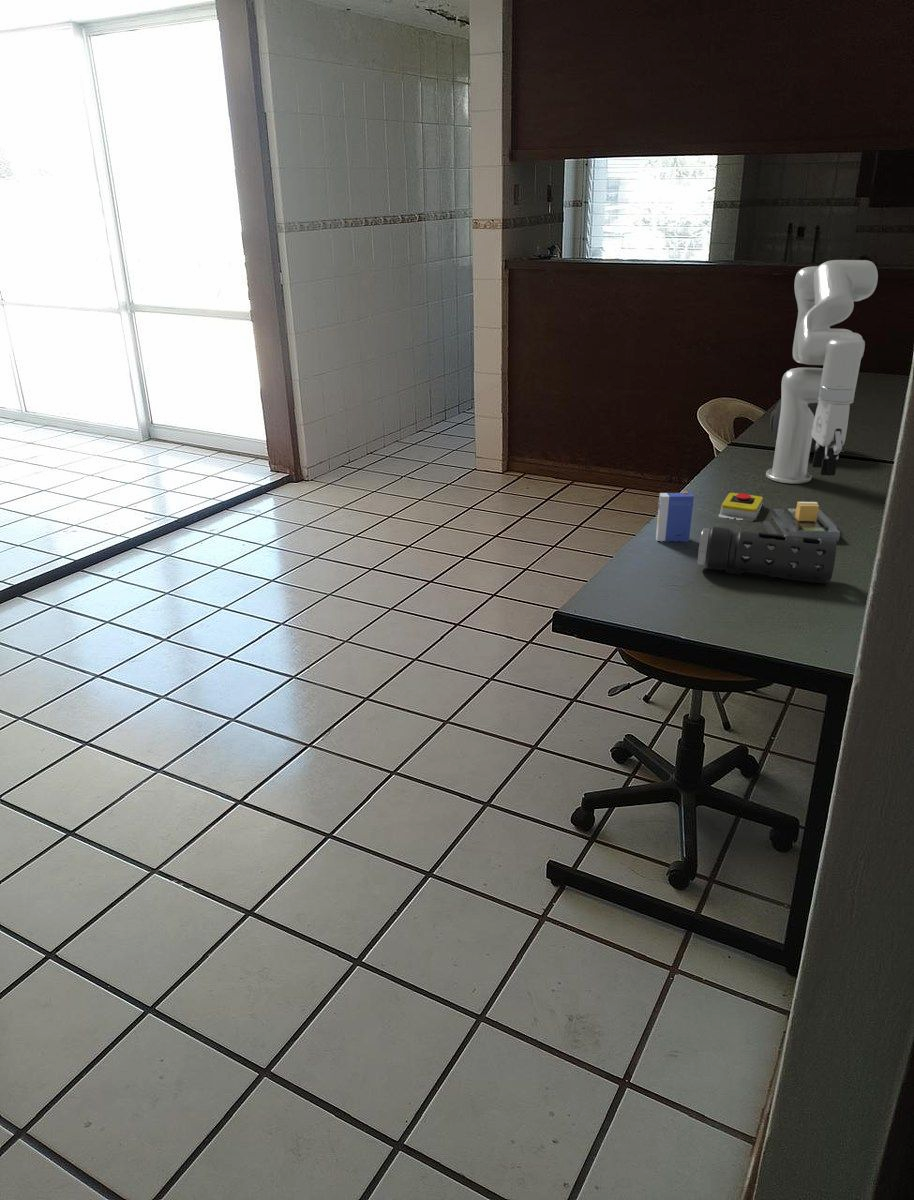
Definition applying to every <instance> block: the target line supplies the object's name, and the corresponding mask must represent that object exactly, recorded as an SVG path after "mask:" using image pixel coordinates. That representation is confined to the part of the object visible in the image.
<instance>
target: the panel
mask: <svg viewBox="0 0 914 1200" xmlns="http://www.w3.org/2000/svg"><path fill="white" fill-rule="evenodd" d="M771 511H772V512H771V517H772V518H773V519H774V521H775V522H776V524H777V525H778V526H779V528H780V529H781V530H780V529H779V528H778V529H779V530H780V532H781V531H782V532H783V533H782V532H781V533H782V535H783V534H784V535H789V536H798V537H808V538H817V539H827V540H835V541H836V543H837V542H839V541H840V536H841V530H839V529H837V528H836V527H835V525H834V524H833V523H832V522H831V521H830V520H829V519H828V518H827V517H826V516H827V515H826V514H825V513H824V512H823V511H822V510H821V509H820V508H819V509H818V515H817V521H798V520H797V519H796V517H795V513H796V508H772V510H771ZM772 518H771V519H772ZM774 521H773V522H774ZM775 522H774V523H775ZM776 524H775V525H776ZM777 525H776V526H777ZM778 526H777V527H778Z"/></svg>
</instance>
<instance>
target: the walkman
mask: <svg viewBox="0 0 914 1200" xmlns="http://www.w3.org/2000/svg"><path fill="white" fill-rule="evenodd" d="M693 506H694V495H693V494H692V492H688V491H682V492H659V498H658V503H657V510H658V511H657V519H656V532H655V541H656V540H657V541H661V542H660V543H663V542H662V541H666V542H665V543H670V542H669V541H675V542H676V541H677V542H676V543H679V542H678V541H680V543H681V541H682V542H683V543H684V542H685V543H687V542H688V543H689V542H690V535H691V525H692V514H693ZM657 541H656V542H657ZM667 541H668V542H667ZM675 542H674V543H675Z"/></svg>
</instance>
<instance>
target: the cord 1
mask: <svg viewBox="0 0 914 1200" xmlns="http://www.w3.org/2000/svg"><path fill="white" fill-rule="evenodd" d="M763 526H764V527H763ZM762 527H763V529H764V528H765V529H766V530H765V529H764V530H765V532H766V531H767V532H768V533H770V534H779V533H778V531H777V530H776V528H774V526H773V524H772V523H771V522H770V520H763V523H762ZM767 532H766V533H767Z"/></svg>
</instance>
